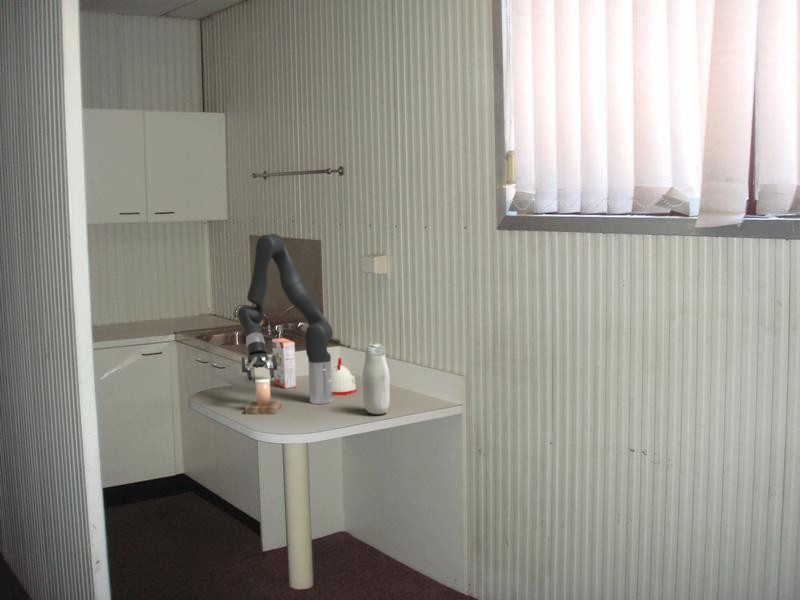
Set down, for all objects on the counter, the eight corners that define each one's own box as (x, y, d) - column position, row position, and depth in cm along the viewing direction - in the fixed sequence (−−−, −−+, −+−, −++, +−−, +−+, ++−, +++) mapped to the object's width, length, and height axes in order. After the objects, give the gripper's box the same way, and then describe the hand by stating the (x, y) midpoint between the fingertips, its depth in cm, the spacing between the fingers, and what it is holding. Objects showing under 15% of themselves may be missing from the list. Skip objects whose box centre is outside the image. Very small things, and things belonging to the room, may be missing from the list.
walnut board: (281, 407, 376) (281, 401, 376) (275, 414, 364) (275, 407, 364) (252, 407, 377) (251, 401, 376) (245, 414, 365) (245, 408, 364)
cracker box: (273, 383, 424) (271, 338, 421) (285, 382, 427) (283, 337, 424) (284, 389, 411) (282, 342, 409) (296, 387, 414) (295, 341, 412)
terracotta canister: (271, 402, 373) (271, 378, 372) (269, 406, 367) (268, 381, 366) (257, 402, 373) (256, 378, 372) (254, 406, 367) (253, 381, 366)
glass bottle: (394, 413, 362) (393, 342, 358) (377, 418, 354) (375, 346, 351) (376, 409, 368) (374, 340, 365) (358, 414, 361) (356, 343, 357)
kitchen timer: (357, 388, 409) (356, 355, 408) (355, 395, 396) (354, 360, 394) (326, 389, 410) (325, 355, 408) (322, 395, 396) (321, 361, 394)
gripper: (239, 342, 377) (244, 374, 367) (274, 339, 381) (280, 371, 371) (238, 352, 382) (243, 385, 373) (272, 350, 386) (278, 382, 377)
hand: (261, 378), depth 372 cm, fingers open, 8 cm apart
